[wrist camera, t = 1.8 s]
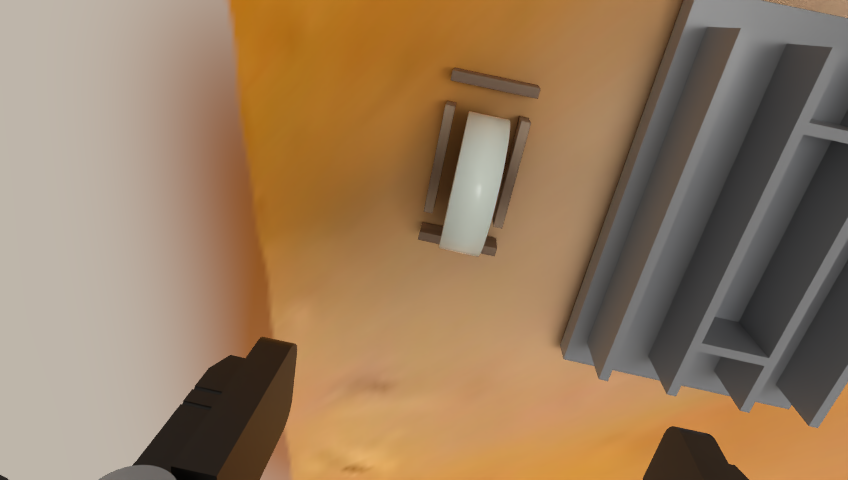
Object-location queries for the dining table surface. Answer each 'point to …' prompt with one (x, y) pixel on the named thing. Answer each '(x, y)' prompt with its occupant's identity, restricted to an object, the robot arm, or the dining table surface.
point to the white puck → (475, 184)
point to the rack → (731, 216)
